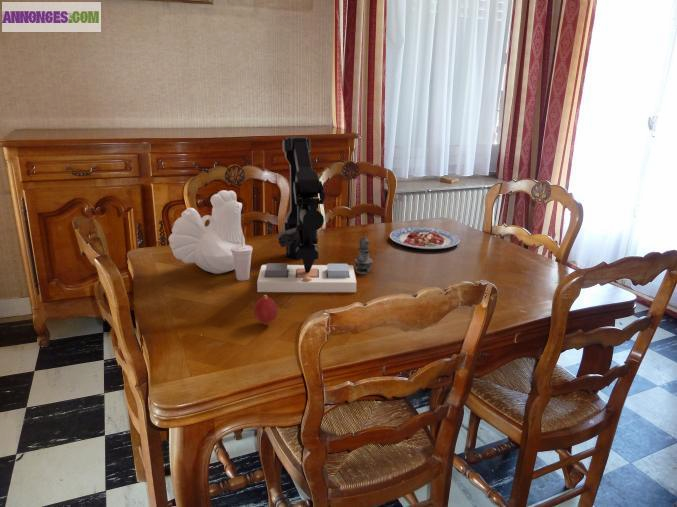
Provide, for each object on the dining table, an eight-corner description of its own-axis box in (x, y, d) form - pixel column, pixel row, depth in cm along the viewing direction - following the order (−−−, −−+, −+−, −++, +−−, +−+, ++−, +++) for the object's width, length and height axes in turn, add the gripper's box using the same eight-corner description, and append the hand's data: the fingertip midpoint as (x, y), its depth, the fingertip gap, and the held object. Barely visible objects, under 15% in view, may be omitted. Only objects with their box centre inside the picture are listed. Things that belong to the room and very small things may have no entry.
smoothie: (257, 276, 159) (256, 232, 155) (247, 283, 154) (245, 238, 149) (238, 273, 161) (236, 229, 157) (228, 280, 155) (225, 235, 151)
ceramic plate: (391, 230, 210) (391, 223, 209) (456, 234, 206) (457, 227, 205) (387, 251, 185) (388, 243, 184) (461, 256, 182) (462, 247, 181)
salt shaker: (371, 275, 162) (372, 238, 158) (352, 273, 163) (353, 236, 159) (373, 268, 168) (375, 233, 164) (355, 267, 169) (356, 231, 165)
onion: (255, 319, 131) (254, 290, 129) (278, 318, 132) (277, 289, 129) (253, 330, 126) (252, 299, 123) (277, 329, 127) (277, 299, 124)
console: (257, 291, 148) (257, 280, 147) (262, 274, 161) (261, 263, 160) (356, 292, 149) (356, 280, 148) (352, 274, 162) (353, 263, 161)
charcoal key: (265, 280, 151) (265, 270, 150) (267, 272, 157) (267, 263, 156) (286, 280, 151) (286, 270, 150) (287, 272, 157) (287, 263, 156)
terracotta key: (296, 285, 152) (296, 275, 151) (297, 277, 158) (297, 268, 157) (317, 285, 152) (317, 275, 151) (317, 277, 158) (317, 268, 157)
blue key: (327, 280, 152) (328, 270, 151) (327, 272, 158) (327, 263, 157) (348, 280, 152) (348, 270, 151) (347, 273, 158) (347, 263, 157)
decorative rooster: (235, 256, 176) (231, 183, 168) (256, 270, 164) (254, 192, 156) (160, 270, 162) (153, 191, 154) (178, 287, 150) (170, 202, 142)
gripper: (281, 212, 157) (281, 261, 162) (276, 230, 140) (277, 284, 145) (318, 212, 158) (317, 261, 163) (318, 230, 140) (318, 284, 145)
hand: (307, 272), depth 154 cm, fingers closed, pressing on terracotta key
